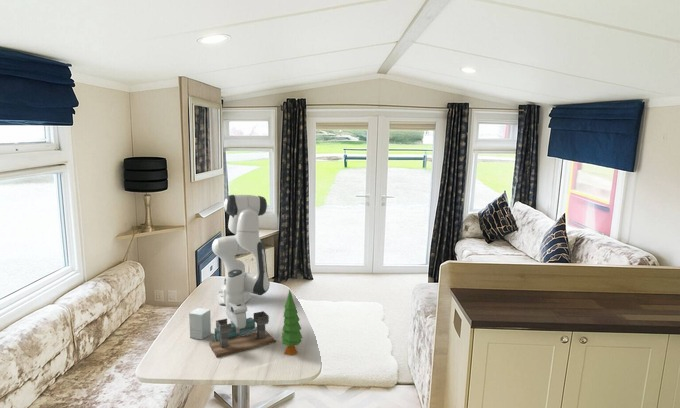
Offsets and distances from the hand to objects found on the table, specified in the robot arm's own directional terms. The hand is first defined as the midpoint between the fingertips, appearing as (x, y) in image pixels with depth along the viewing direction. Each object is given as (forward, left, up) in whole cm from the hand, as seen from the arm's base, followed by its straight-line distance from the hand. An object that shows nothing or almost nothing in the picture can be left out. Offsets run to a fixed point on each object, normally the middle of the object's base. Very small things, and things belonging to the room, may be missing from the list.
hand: (235, 330), depth 204 cm
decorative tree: (+29, +17, -3) cm, 34 cm away
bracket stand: (+11, 0, -3) cm, 11 cm away
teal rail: (0, 0, -3) cm, 3 cm away
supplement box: (-8, -15, -3) cm, 17 cm away
